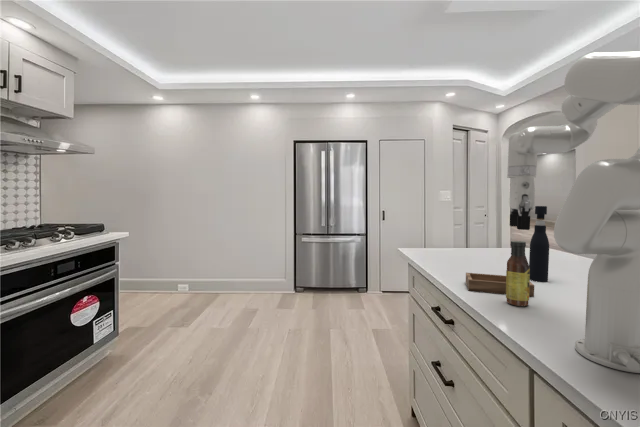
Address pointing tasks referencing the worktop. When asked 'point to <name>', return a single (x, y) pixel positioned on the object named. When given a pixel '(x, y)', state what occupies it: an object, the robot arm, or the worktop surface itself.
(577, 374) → the worktop surface
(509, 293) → the sauce bottle
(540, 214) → the wine bottle
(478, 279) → the bottle tray
